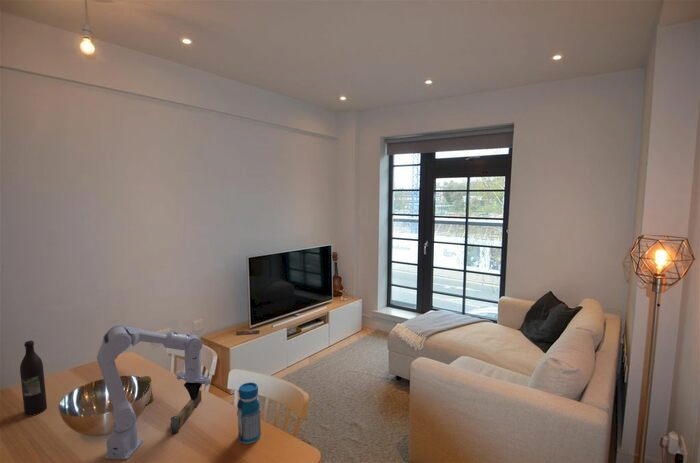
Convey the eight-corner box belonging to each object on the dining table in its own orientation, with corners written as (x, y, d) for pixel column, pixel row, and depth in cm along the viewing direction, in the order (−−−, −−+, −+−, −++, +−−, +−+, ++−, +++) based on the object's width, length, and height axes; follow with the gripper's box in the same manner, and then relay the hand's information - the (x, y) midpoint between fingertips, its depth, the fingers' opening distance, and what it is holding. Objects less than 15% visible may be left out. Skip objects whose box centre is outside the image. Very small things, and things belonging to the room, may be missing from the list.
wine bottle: (20, 414, 148) (12, 344, 145) (38, 404, 155) (31, 337, 152) (33, 417, 147) (26, 346, 143) (51, 407, 154) (44, 339, 150)
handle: (178, 429, 140) (178, 418, 139) (174, 429, 140) (174, 418, 139) (194, 409, 152) (194, 399, 152) (190, 409, 153) (190, 399, 152)
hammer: (176, 434, 137) (175, 420, 137) (165, 434, 138) (164, 419, 137) (202, 400, 159) (201, 387, 159) (193, 400, 160) (192, 387, 159)
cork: (156, 398, 161) (155, 374, 160) (147, 406, 155) (146, 381, 154) (143, 397, 162) (142, 373, 160) (134, 405, 156) (132, 380, 154)
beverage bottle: (251, 447, 131) (249, 395, 129) (233, 440, 135) (231, 389, 132) (265, 433, 139) (264, 384, 136) (248, 427, 142) (247, 378, 140)
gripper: (215, 364, 144) (216, 396, 145) (185, 358, 148) (186, 390, 150) (202, 372, 137) (204, 406, 139) (172, 366, 142) (173, 399, 143)
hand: (194, 398), depth 144 cm, fingers closed
